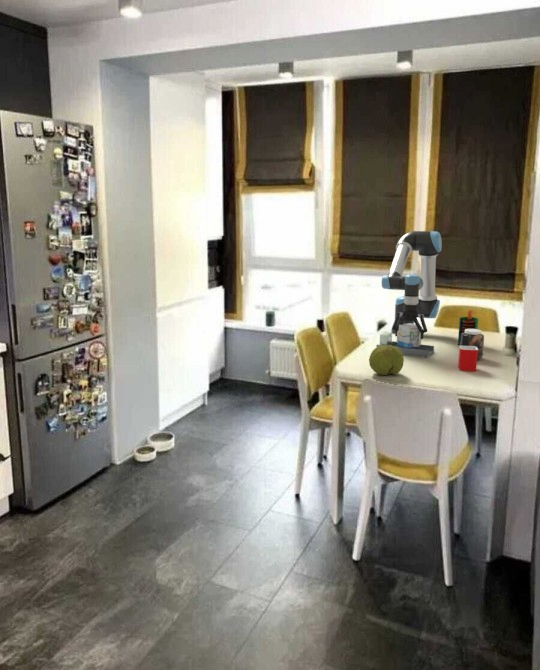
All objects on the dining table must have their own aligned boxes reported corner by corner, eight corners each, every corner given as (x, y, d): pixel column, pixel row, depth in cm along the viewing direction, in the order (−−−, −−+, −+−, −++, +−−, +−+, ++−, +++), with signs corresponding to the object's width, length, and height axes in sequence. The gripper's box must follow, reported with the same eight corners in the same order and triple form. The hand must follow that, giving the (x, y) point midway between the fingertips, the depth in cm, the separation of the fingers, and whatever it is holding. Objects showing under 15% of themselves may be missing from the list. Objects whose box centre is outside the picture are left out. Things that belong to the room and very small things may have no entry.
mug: (477, 371, 276) (478, 350, 274) (459, 370, 278) (460, 349, 275) (473, 365, 288) (475, 344, 285) (456, 364, 289) (457, 343, 287)
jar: (455, 358, 301) (457, 330, 298) (464, 354, 310) (466, 327, 306) (477, 362, 293) (479, 333, 290) (486, 358, 302) (488, 330, 299)
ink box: (407, 348, 307) (408, 326, 305) (397, 345, 314) (398, 324, 312) (420, 346, 311) (421, 325, 309) (409, 343, 318) (410, 322, 316)
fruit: (389, 381, 261) (374, 351, 261) (372, 384, 274) (358, 355, 274) (414, 365, 267) (400, 336, 267) (397, 369, 280) (383, 341, 280)
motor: (457, 345, 329) (459, 311, 325) (458, 342, 338) (460, 308, 333) (476, 347, 326) (478, 312, 322) (476, 344, 334) (479, 310, 330)
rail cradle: (384, 346, 327) (385, 330, 325) (433, 352, 314) (434, 335, 312) (376, 351, 315) (376, 335, 313) (427, 357, 302) (428, 340, 300)
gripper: (387, 303, 310) (385, 342, 315) (431, 306, 299) (428, 347, 303) (391, 301, 317) (389, 339, 321) (435, 304, 305) (432, 344, 310)
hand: (408, 343), depth 312 cm, fingers closed on ink box, 11 cm apart
